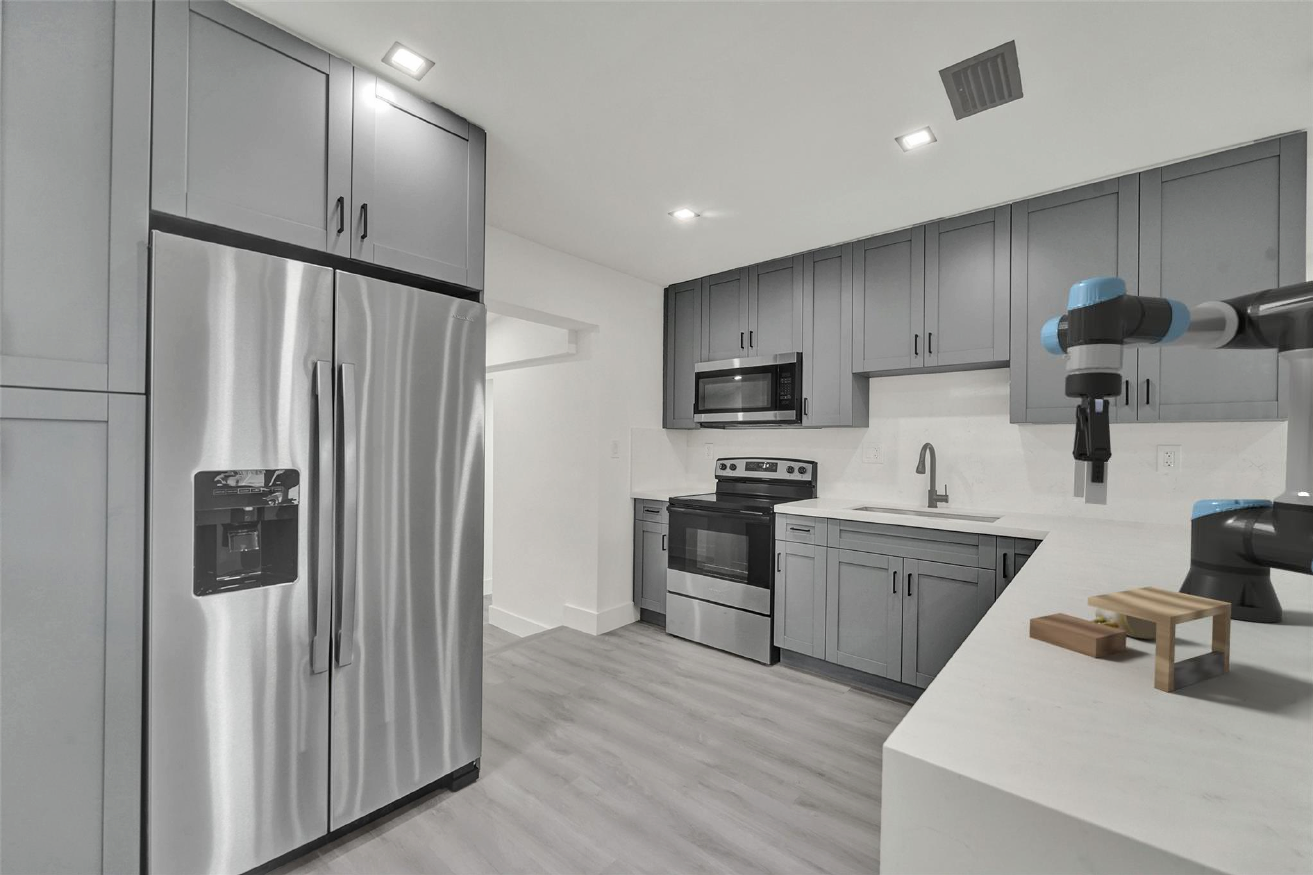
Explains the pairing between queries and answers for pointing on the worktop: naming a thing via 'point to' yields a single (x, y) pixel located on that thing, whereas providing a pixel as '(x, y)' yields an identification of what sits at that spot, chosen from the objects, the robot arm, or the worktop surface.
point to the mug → (1126, 623)
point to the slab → (1078, 635)
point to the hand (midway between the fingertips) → (1088, 500)
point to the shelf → (1166, 614)
